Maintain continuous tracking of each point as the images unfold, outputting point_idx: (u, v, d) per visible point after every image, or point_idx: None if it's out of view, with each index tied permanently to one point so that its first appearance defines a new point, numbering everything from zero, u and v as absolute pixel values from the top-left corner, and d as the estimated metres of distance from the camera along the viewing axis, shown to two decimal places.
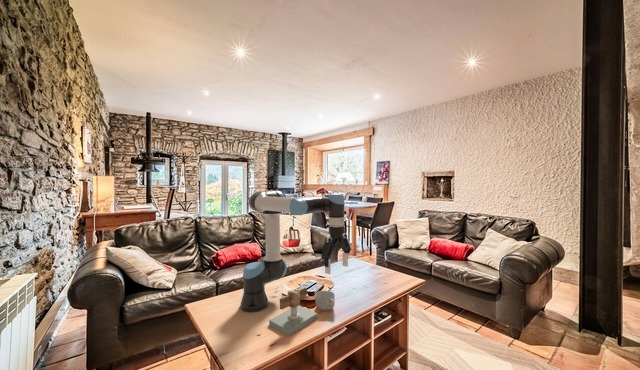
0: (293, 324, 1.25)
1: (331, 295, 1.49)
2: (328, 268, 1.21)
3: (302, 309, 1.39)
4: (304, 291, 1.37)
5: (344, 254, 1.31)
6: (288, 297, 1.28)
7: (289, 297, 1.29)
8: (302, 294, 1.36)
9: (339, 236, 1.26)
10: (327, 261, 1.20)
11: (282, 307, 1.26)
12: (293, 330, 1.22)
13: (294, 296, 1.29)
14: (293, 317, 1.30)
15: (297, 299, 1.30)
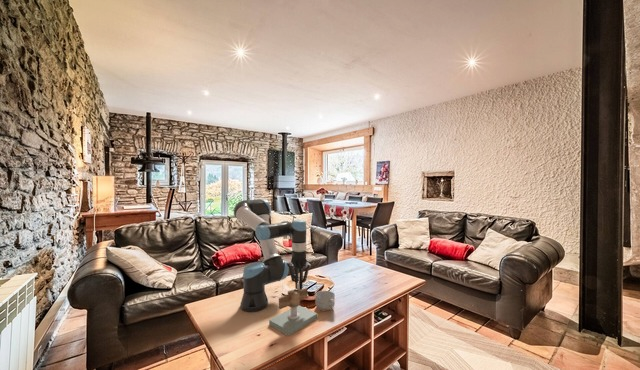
0: (293, 324, 1.25)
1: (331, 295, 1.49)
2: None
3: (302, 309, 1.39)
4: (305, 291, 1.36)
5: None
6: (287, 297, 1.29)
7: (288, 297, 1.29)
8: (303, 294, 1.35)
9: None
10: (296, 283, 1.37)
11: (281, 306, 1.26)
12: (293, 330, 1.22)
13: (293, 296, 1.29)
14: (293, 317, 1.30)
15: (297, 299, 1.30)
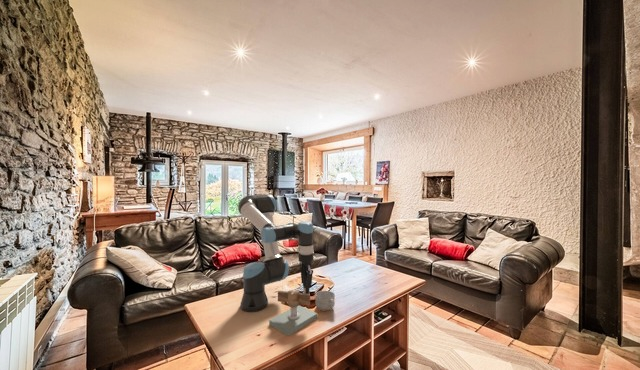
0: (293, 324, 1.25)
1: (331, 295, 1.49)
2: None
3: (302, 309, 1.39)
4: (306, 297, 1.29)
5: None
6: (285, 293, 1.32)
7: (286, 294, 1.32)
8: (303, 299, 1.30)
9: None
10: None
11: (278, 299, 1.34)
12: (293, 330, 1.22)
13: (288, 295, 1.30)
14: (293, 317, 1.30)
15: (291, 300, 1.29)
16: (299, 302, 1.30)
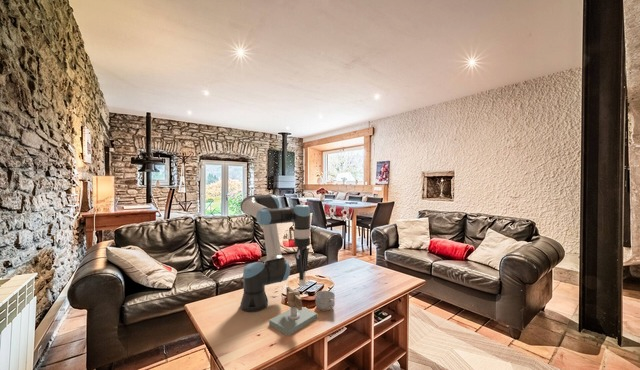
0: (293, 324, 1.25)
1: (331, 295, 1.49)
2: None
3: (302, 309, 1.39)
4: (297, 301, 1.26)
5: None
6: None
7: None
8: (296, 302, 1.27)
9: None
10: None
11: None
12: (293, 330, 1.22)
13: (287, 293, 1.32)
14: (293, 317, 1.30)
15: (288, 298, 1.31)
16: (294, 304, 1.29)
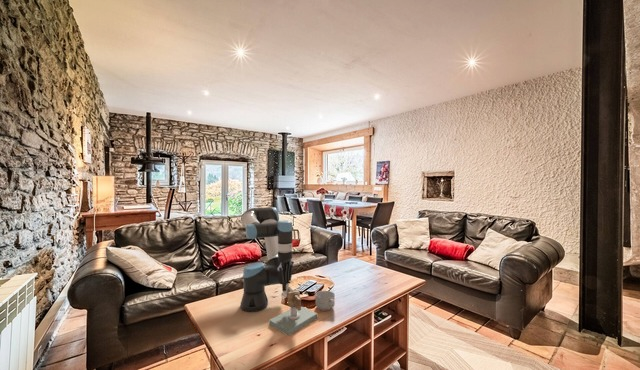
0: (293, 324, 1.25)
1: (331, 295, 1.49)
2: (285, 292, 1.35)
3: (302, 309, 1.39)
4: (296, 301, 1.25)
5: None
6: (289, 291, 1.35)
7: None
8: (296, 302, 1.27)
9: None
10: (285, 285, 1.35)
11: None
12: (293, 330, 1.22)
13: None
14: (293, 317, 1.30)
15: None
16: (294, 304, 1.29)
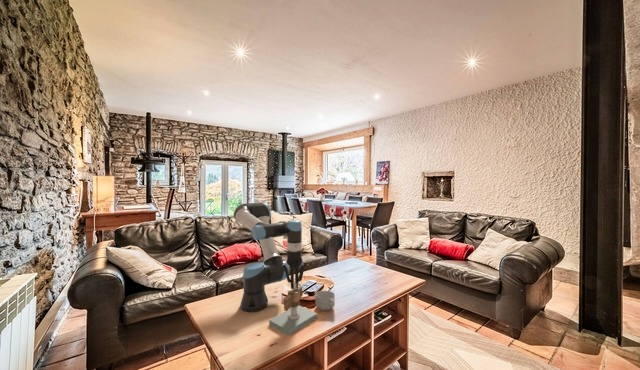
0: (293, 324, 1.25)
1: (331, 295, 1.49)
2: None
3: (302, 309, 1.39)
4: None
5: None
6: None
7: None
8: None
9: None
10: (292, 284, 1.37)
11: None
12: (293, 330, 1.22)
13: None
14: (293, 317, 1.30)
15: None
16: None
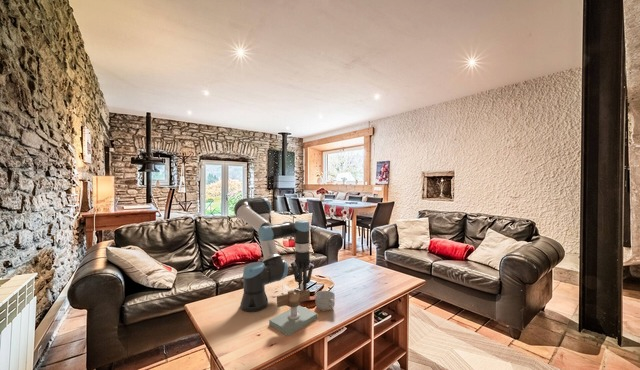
0: (293, 324, 1.25)
1: (331, 295, 1.49)
2: None
3: (302, 309, 1.39)
4: None
5: None
6: None
7: None
8: None
9: None
10: (299, 284, 1.37)
11: None
12: (293, 330, 1.22)
13: None
14: (293, 317, 1.30)
15: None
16: None
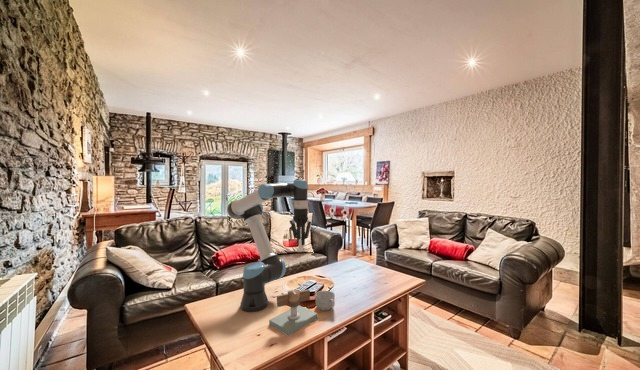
0: (293, 324, 1.25)
1: (331, 295, 1.49)
2: None
3: (302, 309, 1.39)
4: None
5: None
6: None
7: None
8: None
9: None
10: (298, 240, 1.43)
11: None
12: (293, 330, 1.22)
13: None
14: (293, 317, 1.30)
15: None
16: None
